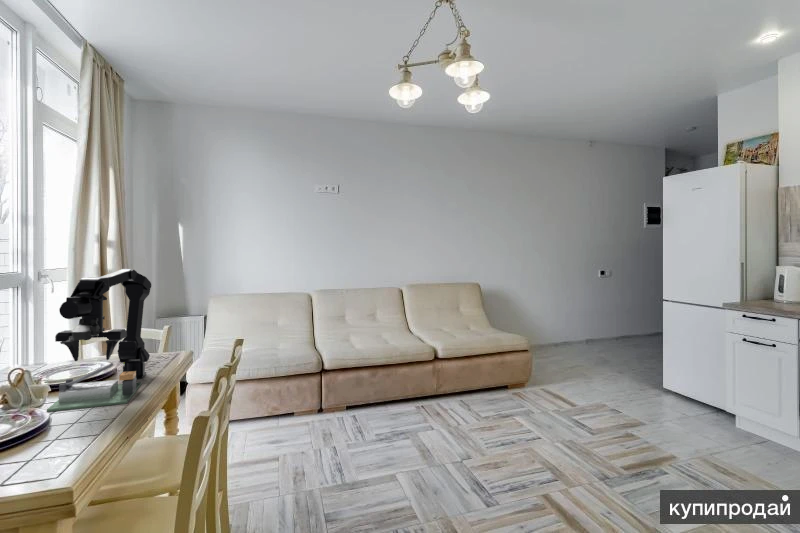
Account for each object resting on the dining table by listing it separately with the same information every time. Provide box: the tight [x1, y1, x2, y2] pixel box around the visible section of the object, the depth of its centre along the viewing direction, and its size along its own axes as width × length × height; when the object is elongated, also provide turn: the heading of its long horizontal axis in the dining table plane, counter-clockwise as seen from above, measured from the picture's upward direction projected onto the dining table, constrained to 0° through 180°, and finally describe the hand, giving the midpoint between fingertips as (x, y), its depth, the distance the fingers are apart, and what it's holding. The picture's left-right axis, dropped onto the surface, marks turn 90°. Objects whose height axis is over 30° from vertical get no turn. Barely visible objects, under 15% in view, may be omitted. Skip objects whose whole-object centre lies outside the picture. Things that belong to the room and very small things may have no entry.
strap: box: [67, 362, 114, 387], centre depth 134 cm, size 14×4×1 cm, turn 111°
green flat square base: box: [46, 376, 142, 413], centre depth 135 cm, size 21×20×6 cm
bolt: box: [118, 371, 136, 382], centre depth 138 cm, size 4×4×2 cm
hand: (92, 360), depth 134 cm, fingers open, 9 cm apart
